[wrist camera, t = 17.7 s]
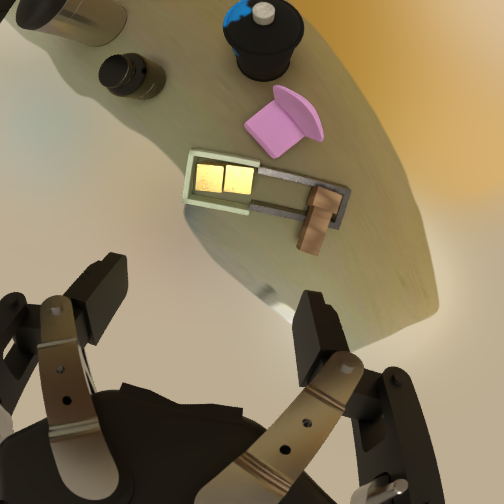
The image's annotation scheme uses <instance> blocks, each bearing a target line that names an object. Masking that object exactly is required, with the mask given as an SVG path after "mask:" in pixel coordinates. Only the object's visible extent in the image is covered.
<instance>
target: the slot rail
mask: <svg viewBox="0 0 504 504" xmlns="http://www.w3.org/2000/svg"><path fill="white" fill-rule="evenodd" d="M258 173H259V174H263V175H268V176H273V177H277V178H281V179H286V180H290V181H294V182H298V183H302V184H306V185H310V186H314V187H316V186H320V187H322V188H325V189H328V190H330V191H333V192H337V193H339V194H340V195H343V196H342V199H341V202H340V205H339V208H338V211H337V214H333V215H332V218H331V219H330V222H329V225H328V227H329V228H333V229H337V230H339V227H340V224H341V221H342V218H343V215H344V212H345V209H346V206H347V203H348V200H349V196H350V193H351V190H350V189H349V188H348V187H346V186H343V185H339V184H336V183H332V182H329V181H325V180H321V179H318V178H314V177H310V176H306V175H302V174H298V173H294V172H290V171H285V170H281V169H277V168H272V167H268V166H263V165H259V168H258ZM250 210H253V211H257V212H262V213H267V214H272V215H276V216H281V217H285V218H290V219H294V220H299V221H303V222H305V220H306V217H307V214H308V212H305V211H301V210H297V209H292V208H288V207H283V206H279V205H274V204H270V203H265V202H260V201H256V200H251V204H250Z"/></svg>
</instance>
